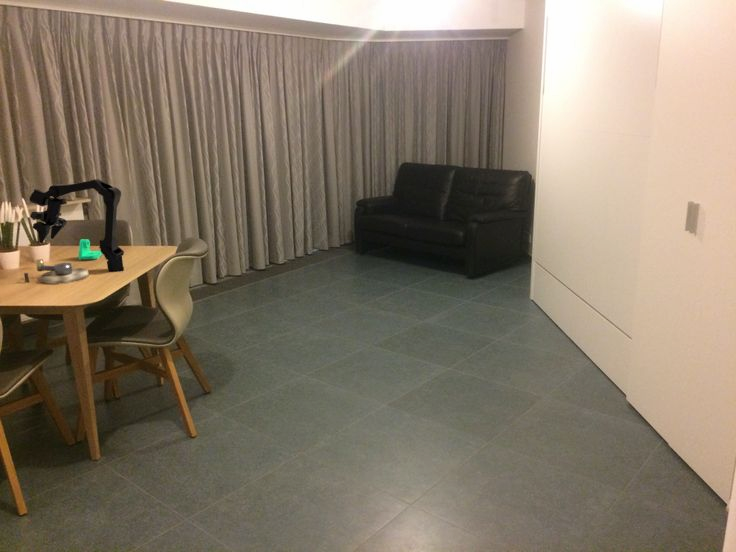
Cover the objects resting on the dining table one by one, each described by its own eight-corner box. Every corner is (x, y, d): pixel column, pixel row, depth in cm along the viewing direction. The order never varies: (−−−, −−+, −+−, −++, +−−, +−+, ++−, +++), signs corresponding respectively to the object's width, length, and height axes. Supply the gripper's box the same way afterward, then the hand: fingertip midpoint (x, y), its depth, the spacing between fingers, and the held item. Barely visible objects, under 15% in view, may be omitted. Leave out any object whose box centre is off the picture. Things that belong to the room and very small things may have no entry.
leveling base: (89, 270, 274) (88, 262, 273) (87, 280, 256) (86, 272, 255) (28, 276, 265) (27, 268, 263) (22, 288, 247) (21, 279, 246)
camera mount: (94, 261, 293) (91, 241, 290) (79, 261, 292) (76, 242, 289) (103, 255, 304) (100, 236, 301) (88, 256, 304) (85, 237, 301)
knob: (75, 271, 264) (74, 259, 262) (65, 275, 257) (63, 263, 255) (44, 269, 267) (42, 258, 265) (32, 273, 260) (30, 261, 259)
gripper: (47, 201, 275) (41, 230, 279) (24, 207, 257) (17, 238, 261) (70, 209, 276) (63, 238, 280) (48, 215, 258) (41, 247, 262)
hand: (46, 240), depth 271 cm, fingers open, 9 cm apart
